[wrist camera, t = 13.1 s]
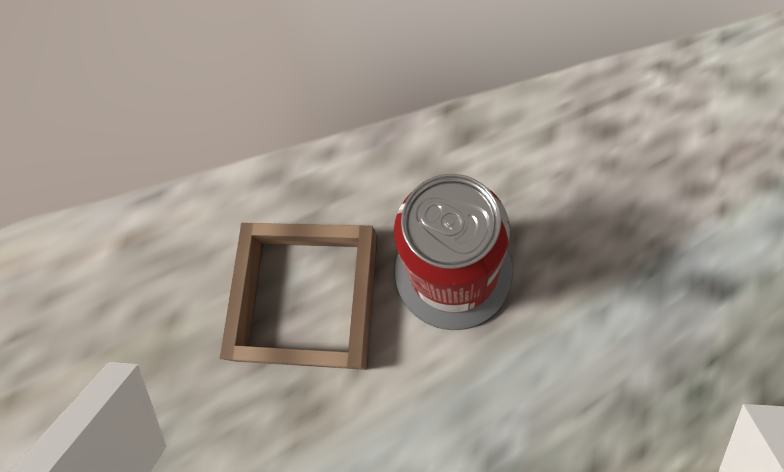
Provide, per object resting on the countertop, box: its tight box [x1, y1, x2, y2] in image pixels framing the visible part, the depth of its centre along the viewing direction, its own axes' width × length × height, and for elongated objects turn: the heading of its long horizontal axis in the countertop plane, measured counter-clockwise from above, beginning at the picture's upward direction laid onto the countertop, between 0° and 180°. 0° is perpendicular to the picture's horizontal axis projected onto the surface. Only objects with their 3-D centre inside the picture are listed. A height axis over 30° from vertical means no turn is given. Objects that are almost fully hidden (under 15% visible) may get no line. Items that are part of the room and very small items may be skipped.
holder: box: [220, 223, 377, 370], centre depth 41 cm, size 11×11×2 cm
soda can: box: [394, 174, 510, 313], centre depth 35 cm, size 7×7×12 cm
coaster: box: [395, 249, 513, 330], centre depth 41 cm, size 9×9×1 cm
